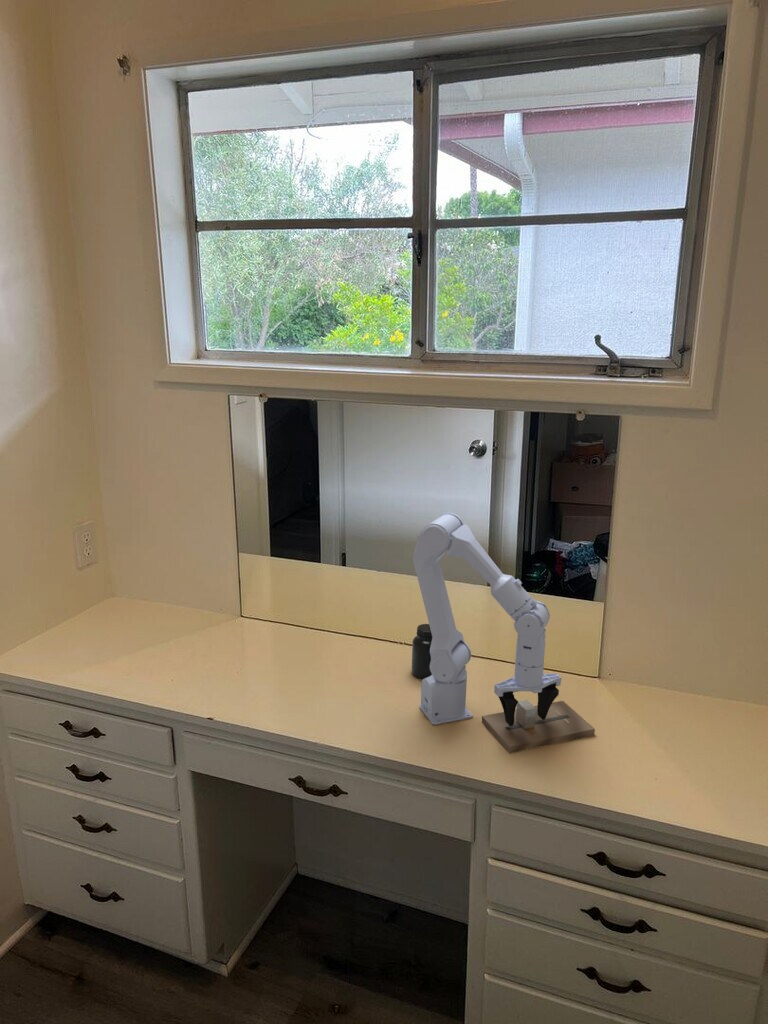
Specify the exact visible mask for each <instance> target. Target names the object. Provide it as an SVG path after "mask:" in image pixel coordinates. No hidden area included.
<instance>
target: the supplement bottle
mask: <svg viewBox="0 0 768 1024" xmlns="http://www.w3.org/2000/svg"><path fill="white" fill-rule="evenodd" d="M431 642H432V633H431V629H430V625H429V623H422V624H420V625H419V624H418V625H417V627H416V635H415V636H414V637H413V639H412V642H411V643H412V644H411V645H412V646H411V673H412V675H413V676H414V677H416V678H417V679H420V680H423V679H424V678H427V677H430V676H431V675H432V673H431V671H430V662H431V655H430V647H431Z"/></svg>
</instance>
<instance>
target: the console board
mask: <svg viewBox="0 0 768 1024" xmlns="http://www.w3.org/2000/svg"><path fill="white" fill-rule="evenodd" d="M533 706H534V707H535V708H536V717H535V727H533V728H528V729H524V728H523V727H522V726H521V725H520V724H519V723H518V722H517V721H516V712H517V708H516V709H515V714H514V724H513V726H509V725H508V724H507V722H506V721H505V715H504V711H501V712H496V713H492V714H491V713H490V714H486V715H482V716H481V723H482V725H484V727H486V729H487V730H488V732H490V734H491V735H492V736H493V737H494V738H495V739H496V740H497V741H498V742H499V744H500V745H501V746H502V747H503V748H504V749H505V750H506V751H507V753H508V754H513V753H517V752H518V753H519V752H522V750H523V751H526V750H527V749H528V750H530V749H537V748H540V747H541V746H542V747H545V745H546V746H550V745H555V744H560V743H565V742H568V741H574V740H579V739H583V738H588V737H593V736H595V731H596V729H595V727H593V726H592V725H591V724H590V723H589V722H588V721H586V719H584V718H583V717H582V716H581V715H580V714H579V713H578V712H576V710H574V709H573V708H572V707H571V706H570V705H568V703H566V702H565V701H564V700H559V701H553V702H552V704H551V706H550V708H549V710H548V713H547V716H546V718H545V719H544V720H542V719H541V718H540V717H539V716H538V713H537V707H538V704H537V705H533Z"/></svg>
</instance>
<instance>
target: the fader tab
mask: <svg viewBox="0 0 768 1024" xmlns="http://www.w3.org/2000/svg"><path fill="white" fill-rule="evenodd" d="M517 701H518V703H517V706H516V709H517V712H516V721H517V722H518V723H519V724H520V725H521V726H522V727H523V728H524V729H528V728H533V727H535V717H536V708H535V707H534V706H535V705H533V704H532V703H531V702H530V701H529V700H528V699H524V700H520V701H519V700H517Z"/></svg>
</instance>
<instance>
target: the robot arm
mask: <svg viewBox="0 0 768 1024" xmlns="http://www.w3.org/2000/svg"><path fill="white" fill-rule="evenodd" d="M416 539H417V541H416V545H415V548H414V552H413V556H412V562H413V566H414V569H415V573H416V578H417V582H418V585H419V589H420V590H419V591H420V592H421V598H422V601H423V604H424V605H423V606H424V609H425V613H426V616H427V620H428V624H429V625H430V629H431V633H432V642H431V647H430V655H431V662H430V671H431V673H432V675H431V676H430V677H427V678H424V679H421V684H420V686H421V687H420V704H419V708H420V710H421V712H423V714H424V715H425V717H426V718H427V719H428V720H429V722H430V724H432V725H434V726H435V725H441V724H446V723H450V722H457V721H461V720H467V719H471V718H473V716H474V715H473V714H472V713H471V711H470V710H469V709H468V708H467V707H466V701H467V681H468V680H467V678H468V673H467V672H468V671H467V669H466V668H467V664H468V663H469V662H470V661H471V658H472V651H471V648H470V646H469V645H468V643H467V642H466V641H465V639H464V634H463V632H461V631H460V630H458V629H457V626H456V622H455V618H454V614H453V611H452V607H451V602H450V598H449V594H448V590H447V586H446V582H445V578H444V574H443V570H442V566H441V561H440V560H441V559H442V557H443V556H444V554H445V553H446V552H447V553H446V556H447V557H454V558H455V557H457V558H462V559H464V560H465V561H466V562H467V563H468V564H469V565H470V566H471V567H472V568H473V569H474V570H475V571H476V572H477V573H478V574H479V576H481V577H482V579H484V580H485V582H487V583H488V584H489V585H490V595H491V596H492V598H494V600H495V601H496V602H497V603H498V604H499V606H501V608H502V609H503V610H504V611H505V613H507V614H508V615H509V616H510V618H511V619H512V620H514V622H513V628H514V630H515V632H516V633H517V638H516V644H515V645H516V648H515V660H514V662H515V664H514V675H513V676H512V677H510V678H508V679H506V680H503V681H502V682H498V683H495V684H494V687H493V689H494V692H493V693H494V694H495V695H496V696H497V697H498V699H499V701H500V703H501V707H502V709H503V712H504V715H505V721H506V722H507V724H508V725H509V726H513V724H514V714H515V710H516V709H517V703H518V701H519V700H517V698H515V694H514V693H517V692H530V693H531V692H532V693H533V694H537V705H538V707H537V713H538V716H539V717H540V718H541V719H542V720H544V719H545V718H546V716H547V713H548V710H549V708H550V706H551V704H552V703H553V702H555V700H556V698H557V697H558V696H559V695H560V694H559V693H560V689H558V688H557V687H559V686H560V687H561V686H562V684H561V683H562V676H560V675H559V674H558V673H556V672H555V673H544V664H545V654H546V652H545V651H546V631H547V630H546V627H547V626H548V623H549V621H550V616H551V615H550V614H551V613H550V611H549V609H548V608H547V606H546V603H544V602H541V601H539V600H537V599H536V598H532V597H531V595H530V594H529V593H528V592H527V590H526V589H525V588H524V586H522V584H523V582H522V581H521V580H520V579H519V578H517V579H515V577H514V575H511V574H504V573H503V572H502V571H501V569H500V568H499V567H498V566H497V565H496V563H495V562H494V561H493V559H492V558H491V556H489V554H488V553H487V551H486V550H485V549H484V548H483V547H482V545H481V544H480V542H478V540H477V539H476V538H475V536H474V534H473V532H472V530H471V528H470V527H469V525H467V524H466V523H464V522H463V520H462V519H461V517H460V516H459V515H457V514H455V513H453V512H444V513H442V514H441V515H440V516H439V517H437V518H436V519H435V520H433V521H432V522H430V523H428V524H426V525H425V526H423V528H421V530H420V531H419V532H418V533H417V535H416Z"/></svg>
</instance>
